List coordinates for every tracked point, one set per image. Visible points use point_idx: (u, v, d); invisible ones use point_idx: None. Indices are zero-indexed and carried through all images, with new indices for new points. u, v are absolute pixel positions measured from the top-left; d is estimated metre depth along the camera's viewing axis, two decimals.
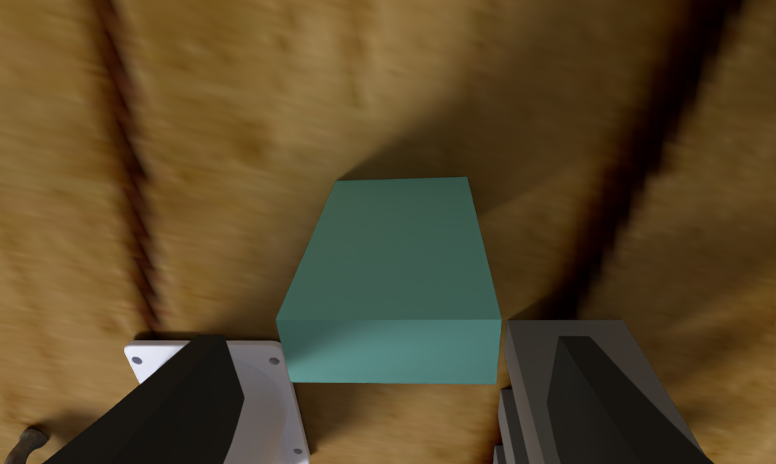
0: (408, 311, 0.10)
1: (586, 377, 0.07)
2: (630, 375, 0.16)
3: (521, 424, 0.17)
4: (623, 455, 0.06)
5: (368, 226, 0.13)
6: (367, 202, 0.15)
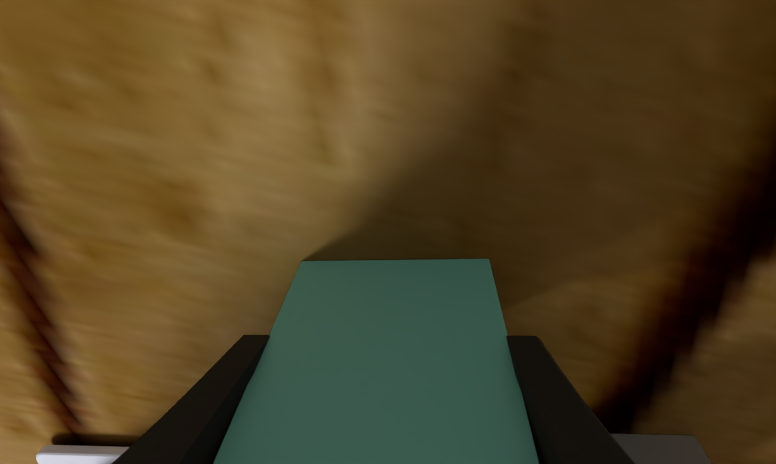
0: None
1: (524, 376, 0.07)
2: None
3: None
4: (549, 453, 0.06)
5: (338, 367, 0.08)
6: (342, 310, 0.10)
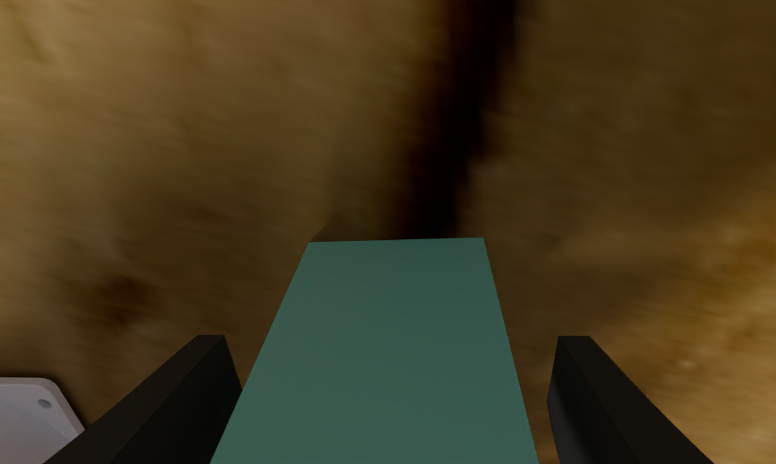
0: None
1: (586, 377, 0.07)
2: None
3: None
4: (623, 455, 0.06)
5: (344, 329, 0.09)
6: (347, 283, 0.11)
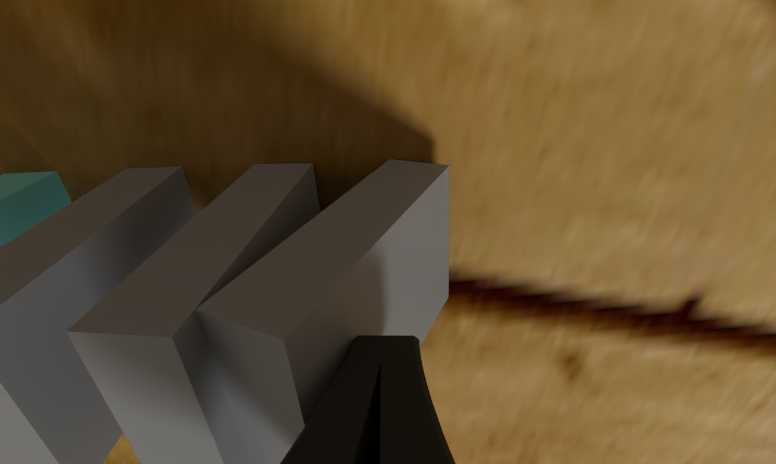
0: None
1: (382, 375, 0.08)
2: None
3: None
4: None
5: None
6: None
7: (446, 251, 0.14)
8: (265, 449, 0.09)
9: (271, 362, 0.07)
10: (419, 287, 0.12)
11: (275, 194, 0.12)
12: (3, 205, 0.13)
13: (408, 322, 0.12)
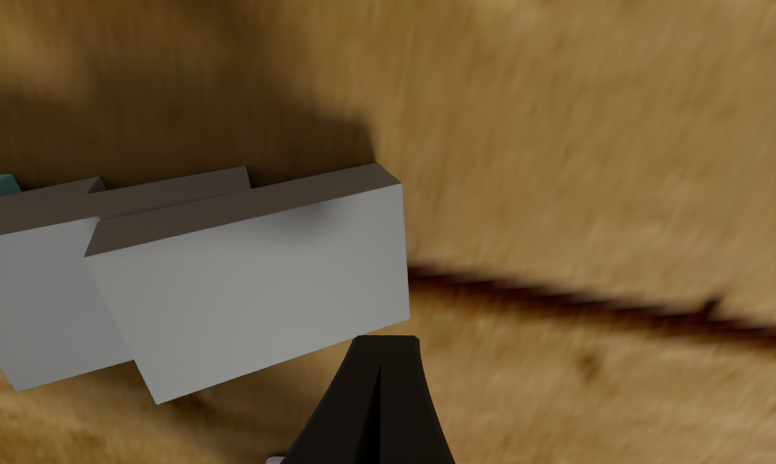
0: None
1: (382, 375, 0.08)
2: None
3: None
4: None
5: None
6: None
7: (399, 270, 0.14)
8: None
9: None
10: (329, 288, 0.13)
11: (162, 199, 0.12)
12: None
13: (306, 313, 0.13)
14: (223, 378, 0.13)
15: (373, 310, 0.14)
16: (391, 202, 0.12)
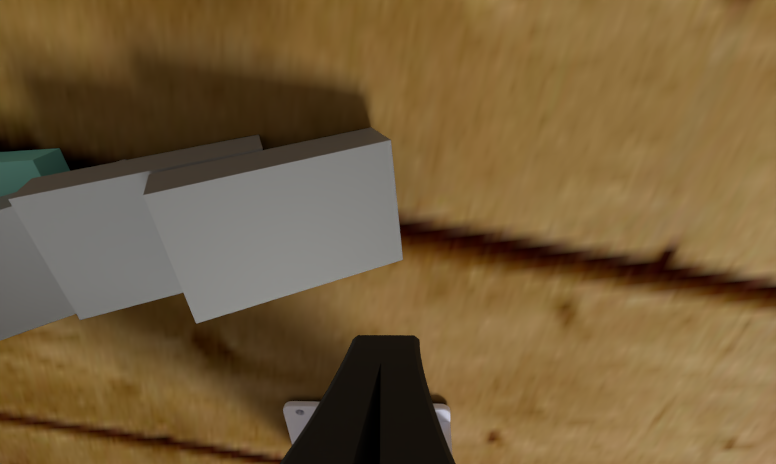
0: None
1: (382, 375, 0.08)
2: None
3: None
4: None
5: None
6: None
7: (391, 215, 0.16)
8: None
9: None
10: (333, 229, 0.16)
11: (192, 159, 0.15)
12: None
13: (315, 250, 0.16)
14: (249, 305, 0.16)
15: (371, 250, 0.17)
16: (382, 156, 0.15)
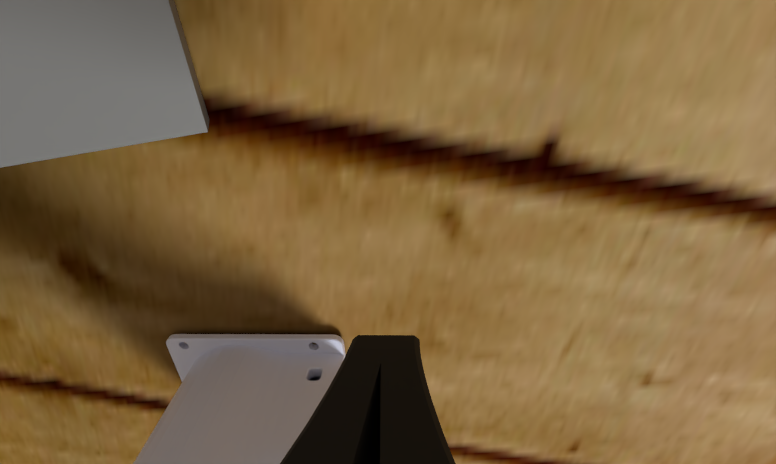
0: None
1: (382, 375, 0.08)
2: None
3: None
4: None
5: None
6: None
7: (181, 72, 0.14)
8: None
9: None
10: (103, 78, 0.14)
11: None
12: None
13: (85, 103, 0.14)
14: (13, 164, 0.14)
15: (162, 114, 0.15)
16: None
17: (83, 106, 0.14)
